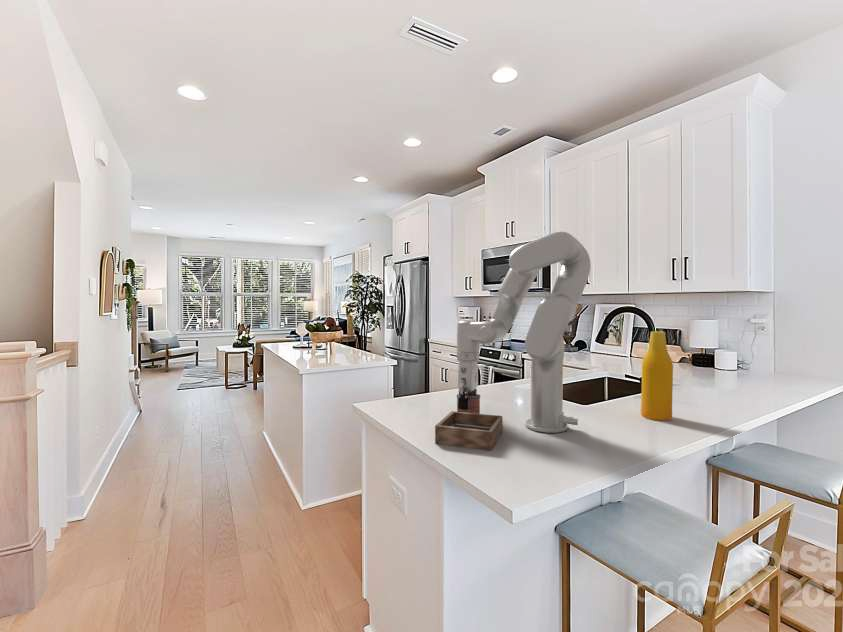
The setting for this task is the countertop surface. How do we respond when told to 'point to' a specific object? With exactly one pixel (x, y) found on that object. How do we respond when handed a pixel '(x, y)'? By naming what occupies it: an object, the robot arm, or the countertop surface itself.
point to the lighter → (471, 402)
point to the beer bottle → (657, 380)
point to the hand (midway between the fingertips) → (466, 405)
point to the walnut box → (469, 430)
